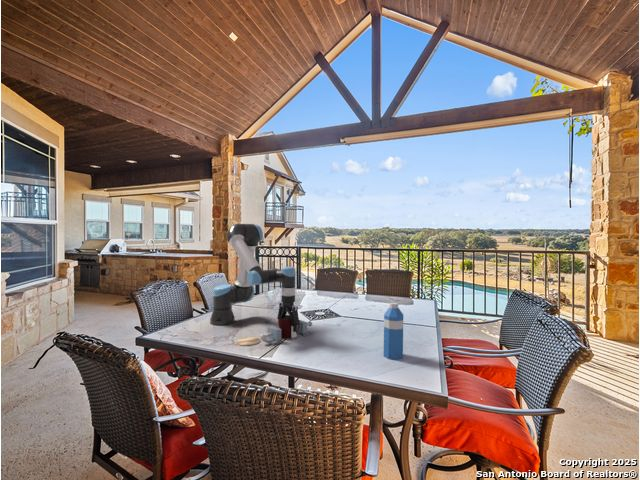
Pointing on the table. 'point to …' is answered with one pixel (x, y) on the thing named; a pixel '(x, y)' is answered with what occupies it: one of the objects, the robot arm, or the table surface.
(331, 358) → the table surface
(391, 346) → the water bottle
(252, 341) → the coaster
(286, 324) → the mug
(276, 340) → the vise
